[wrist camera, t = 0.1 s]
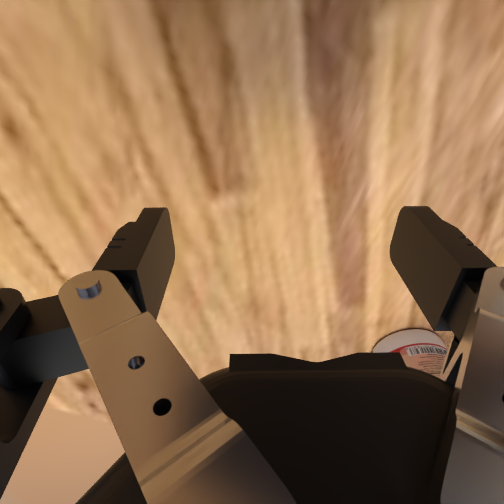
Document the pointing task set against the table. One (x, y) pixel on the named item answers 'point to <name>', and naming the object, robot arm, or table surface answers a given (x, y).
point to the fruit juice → (416, 349)
